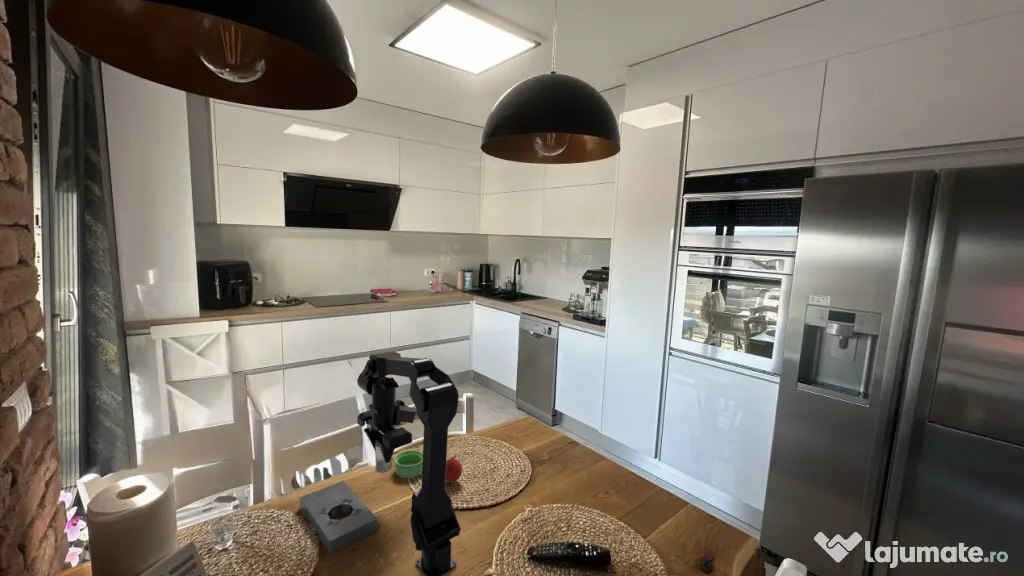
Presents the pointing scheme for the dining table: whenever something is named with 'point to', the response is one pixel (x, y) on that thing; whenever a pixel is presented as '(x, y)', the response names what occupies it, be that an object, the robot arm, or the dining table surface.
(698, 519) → the dining table surface
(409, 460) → the ramekin
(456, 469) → the onion
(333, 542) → the jig
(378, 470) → the metal cylinder peg
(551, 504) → the dining table surface
